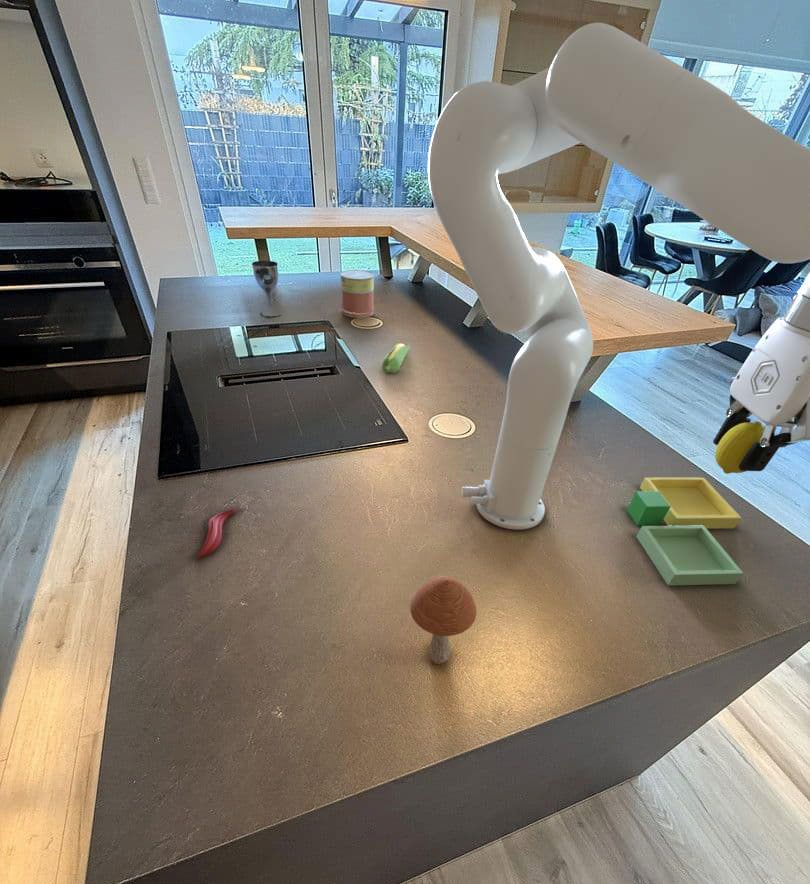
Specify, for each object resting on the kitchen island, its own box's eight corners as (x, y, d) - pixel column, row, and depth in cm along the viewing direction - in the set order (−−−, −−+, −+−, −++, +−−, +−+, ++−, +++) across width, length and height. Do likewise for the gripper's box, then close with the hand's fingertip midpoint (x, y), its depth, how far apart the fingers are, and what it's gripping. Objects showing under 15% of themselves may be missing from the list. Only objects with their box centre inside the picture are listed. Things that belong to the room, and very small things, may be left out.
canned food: (345, 306, 168) (344, 268, 160) (375, 308, 167) (376, 271, 159) (338, 316, 160) (337, 277, 151) (371, 318, 159) (371, 280, 151)
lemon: (752, 487, 63) (789, 436, 57) (709, 480, 64) (742, 428, 58) (740, 466, 67) (774, 415, 61) (700, 459, 67) (730, 408, 62)
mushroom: (403, 631, 65) (410, 555, 54) (459, 629, 65) (476, 554, 55) (408, 683, 59) (417, 609, 49) (469, 679, 60) (490, 606, 49)
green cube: (636, 525, 85) (647, 506, 82) (626, 510, 88) (635, 491, 85) (660, 525, 85) (670, 506, 82) (648, 509, 88) (658, 491, 85)
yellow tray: (670, 529, 84) (676, 518, 83) (639, 487, 94) (644, 477, 92) (733, 528, 86) (741, 517, 84) (697, 487, 95) (703, 477, 93)
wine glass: (255, 316, 155) (247, 265, 145) (264, 308, 161) (257, 259, 150) (278, 318, 154) (272, 267, 144) (286, 311, 160) (281, 262, 150)
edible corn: (378, 375, 126) (378, 359, 123) (396, 349, 140) (397, 334, 137) (396, 378, 125) (397, 362, 122) (412, 352, 139) (413, 336, 136)
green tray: (667, 585, 74) (675, 574, 72) (636, 536, 82) (641, 525, 81) (734, 584, 75) (743, 573, 73) (696, 535, 83) (703, 525, 82)
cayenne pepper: (224, 508, 82) (222, 499, 80) (247, 514, 81) (245, 506, 79) (179, 552, 73) (176, 543, 72) (204, 560, 72) (201, 551, 71)
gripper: (748, 292, 57) (680, 424, 69) (853, 345, 44) (747, 494, 57) (805, 295, 57) (727, 425, 70) (924, 348, 45) (803, 495, 57)
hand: (736, 455), depth 63 cm, fingers closed on lemon, 5 cm apart
